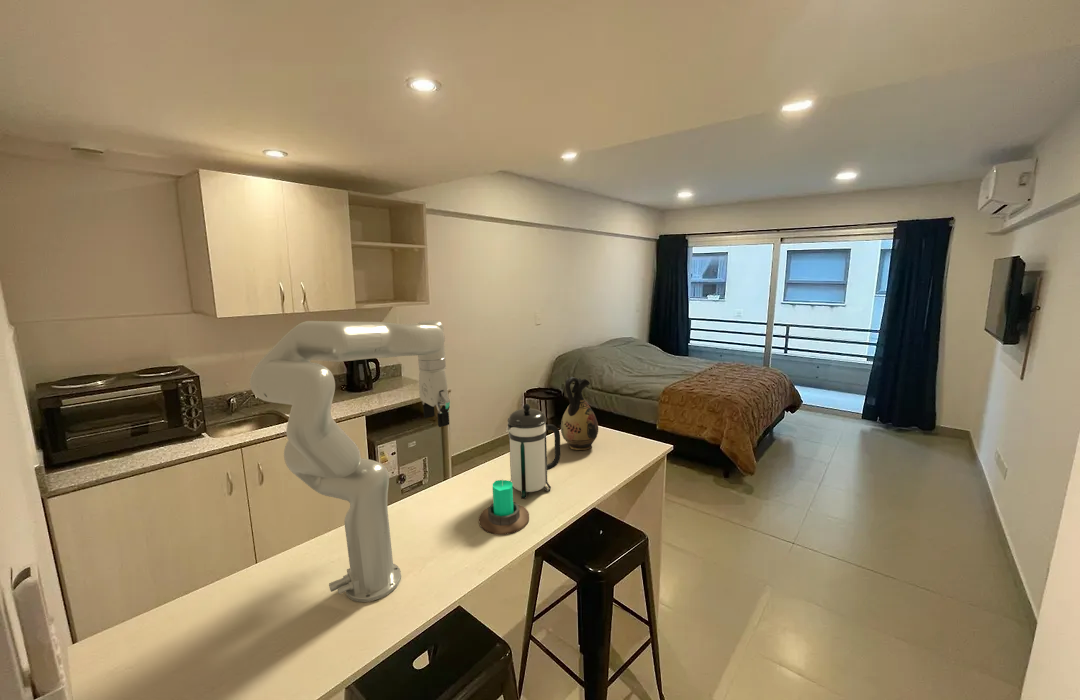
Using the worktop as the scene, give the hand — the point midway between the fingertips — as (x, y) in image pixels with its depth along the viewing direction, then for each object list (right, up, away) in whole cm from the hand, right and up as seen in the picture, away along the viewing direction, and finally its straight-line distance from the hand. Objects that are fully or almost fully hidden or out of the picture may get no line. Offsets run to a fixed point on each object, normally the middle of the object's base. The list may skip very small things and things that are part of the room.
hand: (436, 421), depth 127 cm
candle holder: (+20, -30, +3) cm, 36 cm away
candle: (+20, -29, +2) cm, 35 cm away
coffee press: (+28, -26, +21) cm, 44 cm away
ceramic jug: (+46, -19, +53) cm, 73 cm away
